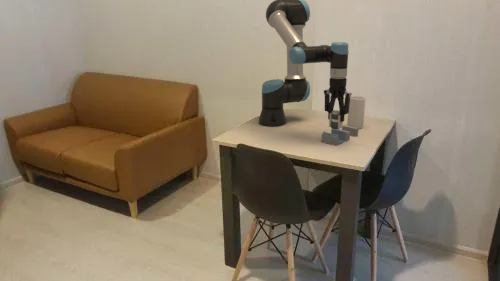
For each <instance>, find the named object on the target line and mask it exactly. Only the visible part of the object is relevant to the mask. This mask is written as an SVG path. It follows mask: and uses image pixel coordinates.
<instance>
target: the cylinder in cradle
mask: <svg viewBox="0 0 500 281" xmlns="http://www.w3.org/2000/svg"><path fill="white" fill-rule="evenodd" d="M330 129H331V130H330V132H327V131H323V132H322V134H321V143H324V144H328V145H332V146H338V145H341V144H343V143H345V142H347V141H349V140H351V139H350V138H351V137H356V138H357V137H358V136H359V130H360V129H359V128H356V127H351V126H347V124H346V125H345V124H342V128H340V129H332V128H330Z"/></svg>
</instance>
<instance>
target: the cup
mask: <svg viewBox="0 0 500 281" xmlns="http://www.w3.org/2000/svg"><path fill="white" fill-rule="evenodd" d="M365 107H366V97H365V96H363V95H351V97H350V104H349V113H348V114H347V120H346V123H347V124H346V126H351V127H356V128H359V129H358V130H361V129H363V128H364V121H365V109H366V108H365Z"/></svg>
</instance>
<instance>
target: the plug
mask: <svg viewBox="0 0 500 281" xmlns="http://www.w3.org/2000/svg"><path fill="white" fill-rule="evenodd" d="M339 114H340V110H338V109H337V110H336V109H335V110H334V109H333V111H332V122H331V127H330V129H338V115H339Z"/></svg>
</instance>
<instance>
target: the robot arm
mask: <svg viewBox="0 0 500 281" xmlns="http://www.w3.org/2000/svg"><path fill="white" fill-rule="evenodd" d="M310 17H311V10H310V7H309V3H308V2H307V0H273V1H272V2H271V3H269V4H268V6H267V8H266V11H265V18H266V22H267V23H268V24H269V26H270V27H271V28H274V30H275V32H276V33H277V35H278V36H279V37H280V39H281V40H282V41H283V43H284V45H286V72H287V73H286V74H287V75H285V77H284V80H283V79H279V78H278V79H269V80H266V81H264V82H263V83H262V85H261V105H262V106H261V111H260V115H259V118H258V124H259V125H261V126H264V127H279V126H285V125H286V124H287V118H286V115H285V112H284V104H289V103H300V102H305V101H306V100H308V99H309V96H310V92H311V85H310V81H309V80H307V77H306V76H305V75H304V64H316V63H330V65H329V83H328V84H329V88H328V89H325V90H323V94H324V112H327V118H328V120H329V121H328V127H329V128H331V122H332V111H334V109H335V104H336V99H337V101H338V102H337V103H338V109H339V110H338V111H340V114H339V115H338V129H340V130H341V129H342V126H343V125H344V124H343V122H345V115H348V113H349V104H350V97H351V96H353V93H352V92H348V91H347V81H348V79H347V77H348V65H349V64H348V62H349V43H348V42H345V41H335V42H334V41H333V42H332V43H331V44H330V45H328V44H321V45H310V46H308V45H307V44H306V42H304V38H303V37H304V34H303V31H304V28H305V27H306V23H308V22H309V20H310Z"/></svg>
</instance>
